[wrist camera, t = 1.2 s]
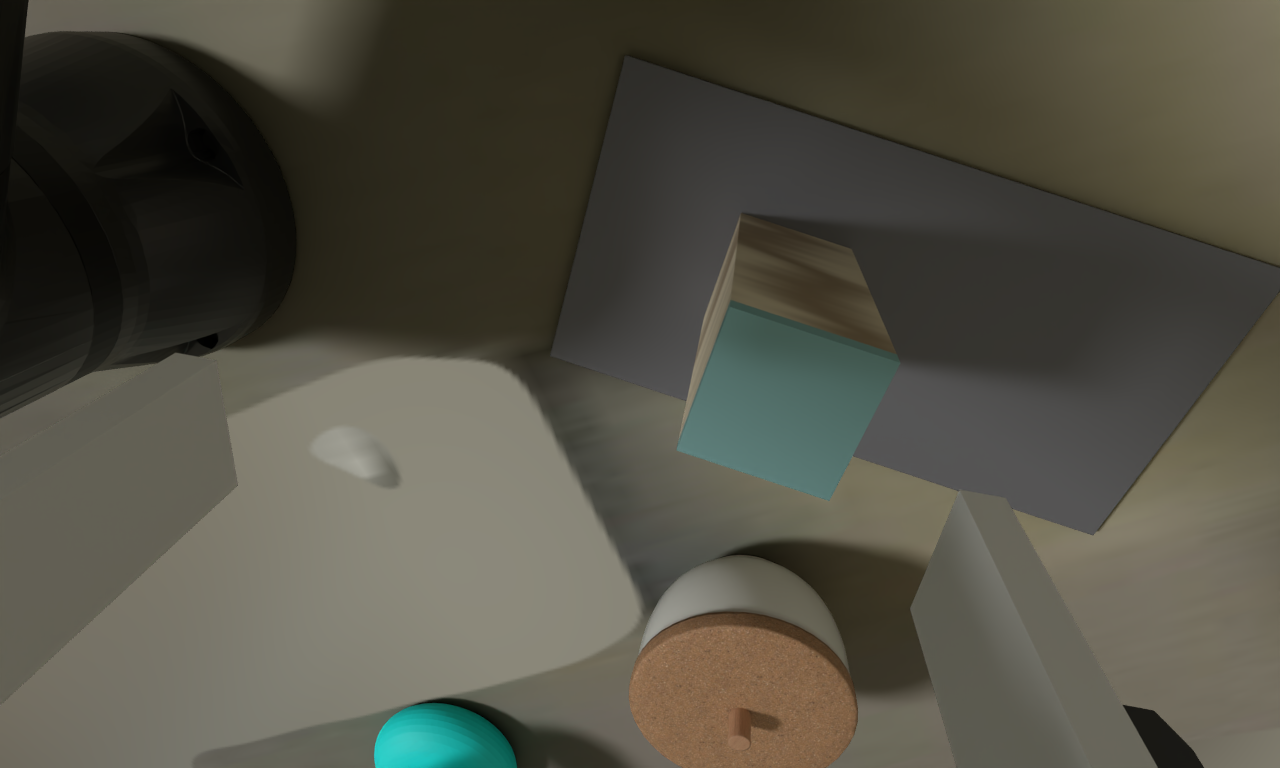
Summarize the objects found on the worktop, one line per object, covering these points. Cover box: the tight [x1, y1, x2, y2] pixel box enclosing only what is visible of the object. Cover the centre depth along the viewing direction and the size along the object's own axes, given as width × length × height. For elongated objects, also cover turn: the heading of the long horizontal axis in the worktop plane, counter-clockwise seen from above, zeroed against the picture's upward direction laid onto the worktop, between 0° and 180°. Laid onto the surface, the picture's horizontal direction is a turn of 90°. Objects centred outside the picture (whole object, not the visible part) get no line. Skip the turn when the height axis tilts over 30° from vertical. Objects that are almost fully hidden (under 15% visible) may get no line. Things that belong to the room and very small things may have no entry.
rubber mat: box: [550, 55, 1280, 535], centre depth 32 cm, size 28×14×1 cm, turn 74°
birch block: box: [677, 213, 900, 501], centre depth 26 cm, size 5×5×12 cm
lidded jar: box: [629, 555, 858, 768], centre depth 36 cm, size 11×11×9 cm
